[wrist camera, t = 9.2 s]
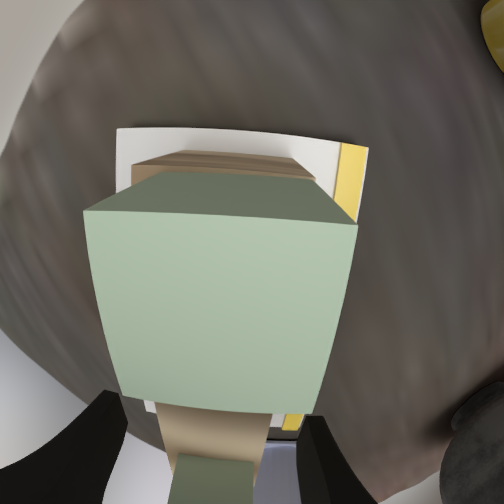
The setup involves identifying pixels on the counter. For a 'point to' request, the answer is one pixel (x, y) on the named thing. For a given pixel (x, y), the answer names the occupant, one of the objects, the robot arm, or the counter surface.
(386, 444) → the counter surface
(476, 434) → the pitcher
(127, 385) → the block
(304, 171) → the tan wooden bar
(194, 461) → the block
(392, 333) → the counter surface
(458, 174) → the counter surface
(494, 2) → the plant pot
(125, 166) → the dock
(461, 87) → the counter surface
